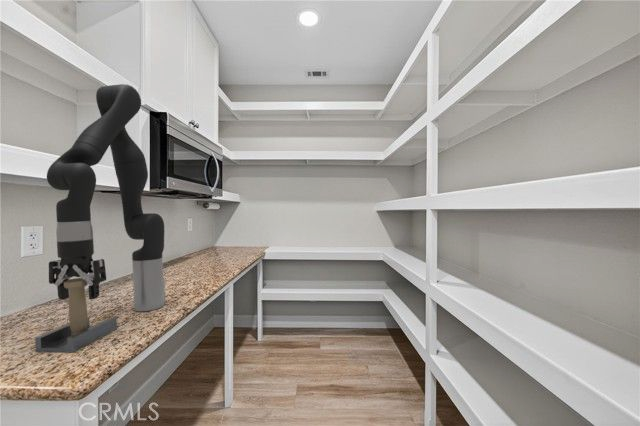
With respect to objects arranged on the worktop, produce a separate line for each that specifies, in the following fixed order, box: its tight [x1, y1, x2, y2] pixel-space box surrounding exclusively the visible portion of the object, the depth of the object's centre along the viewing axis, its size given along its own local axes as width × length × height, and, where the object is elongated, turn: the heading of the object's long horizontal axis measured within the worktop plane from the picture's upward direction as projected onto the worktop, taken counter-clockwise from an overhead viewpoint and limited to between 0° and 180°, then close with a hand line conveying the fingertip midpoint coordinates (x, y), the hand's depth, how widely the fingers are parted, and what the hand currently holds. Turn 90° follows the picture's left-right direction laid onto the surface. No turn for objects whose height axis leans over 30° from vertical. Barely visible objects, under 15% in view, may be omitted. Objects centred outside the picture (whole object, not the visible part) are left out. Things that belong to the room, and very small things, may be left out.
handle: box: [64, 277, 89, 336], centre depth 80 cm, size 5×6×15 cm
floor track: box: [34, 316, 118, 353], centre depth 80 cm, size 14×10×4 cm
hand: (78, 298), depth 80 cm, fingers open, 8 cm apart
